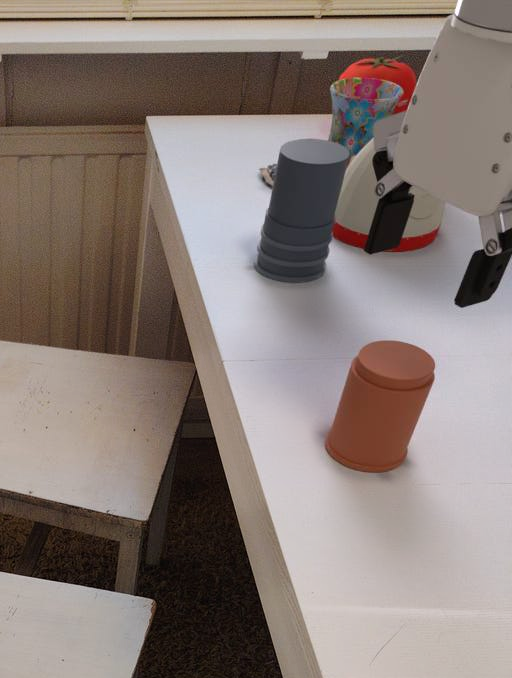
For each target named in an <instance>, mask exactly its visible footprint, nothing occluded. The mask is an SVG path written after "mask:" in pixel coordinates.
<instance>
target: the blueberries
mask: <svg viewBox="0 0 512 678" xmlns="http://www.w3.org/2000/svg"><path fill="white" fill-rule="evenodd" d="M276 168H277V163H273V164H269V165H267V166H266V167H259V168H258V171H259V173H260V175H261V176H263V179H264V180H265V183H266V184H268V185H270V187H271V188H273V183H274V178H275V173H276Z"/></svg>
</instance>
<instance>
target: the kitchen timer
mask: <svg viewBox="0 0 512 678" xmlns="http://www.w3.org/2000/svg"><path fill="white" fill-rule="evenodd" d="M412 95H413V92H411V94H410V96H409V98H408V101H407V103H406V106H405V108H404V111H406V110H407V109H408V106H409V104H410V101H411V98H412ZM400 112H403V111H402V107H400V106H398V105H395V109H394V114H397V113H400ZM381 119H382V118H381ZM375 153H376V150H375V151H374V138H373V139H371V140H370V141H369V142H368V143H367V144H366V145H365V146H364V147H363V148H362V150H361V151H360V152H359V153H358V154H357V155H356V156H353V157H352V158H351V160H350V163H349V166H348V168H347V169H346V172H345V175H344V179H343V183H342V187H341V191H340V195H339V199H338V203H337V207H336V211H335V217H336V218H335V222H334V226H333V230H332V232H333V238H335V239H337V240H339V241H341V242H343V243H345V244H346V245H351V246H353V247H355V248H360V249H363V250H364V247H365V244H366V241H367V237H368V234H369V231H370V227H371V224H372V221H373V217H374V214H375V211H376V207H377V204H378V201H379V198H377V197H376V196H375V193H374V188H375V185H376V183H377V179H376V175H375V171H374V168H373V163H372V160H373V156H374V154H375ZM409 193H412V194H414V195H415V197H414V203H413V206H412V209H411V212H410V215H409V218H408V221H407V224H406V227H405V230H404V233H403V236H402V239H401V242H400V245H399V246H398V247H397V248H394V249H390V250H386V251H385V252H387V253H388V252H389V253H399V252H400V253H401V252H411V251H414V250H419V249H423V248H425V247H427V246H429V245H430V244H433V242H434V241H435V240H436V238H437V237H438V234H439V231H440V229H441V227H442V226H441V225H442V223H443V219H444V213H445V205H446V202H445V201H442V200H440V199H438V198H436V197H434V196H432V195H430V194H428V193H426V192H424V191H422V190H420V189H418V188H416V187H413V188H412V189H411V190H410V191H409Z"/></svg>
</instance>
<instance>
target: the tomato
mask: <svg viewBox="0 0 512 678" xmlns="http://www.w3.org/2000/svg"><path fill="white" fill-rule="evenodd" d="M403 56H404V54H402V55H399V56H397V57H395V58H392V59H390V58H388V59H386V58H385V57H384V56H380V57H378V58H372V57H369V58H364V59H360V60H358V61H356V62H354V63H352V64H350V65H349V66H348V67H347V68H346V69H345V70H344V71H343V73H342V74H340V76H339V78H338V80H342V79H347V78H375V79H381V80H386V81H390V82H393V83H395V84H397V85H399V86H400V87H401V88H402V89H403V95H402V97H401V98H400V100H399V101H398V103H399V102H401V101H404V100H408V98H409V96H410V94H411V92H413V93H414V90H415V87H416V85H417V75H416V74H415V72H414V70H413V68H412V67H410V66H409V65H408V64H406V63H404V62H398V61H397V60H398V59H399V58H401V57H403ZM398 103H397V104H398ZM405 106H406V104H405V105H402V106H400V107H402V111H404V108H405ZM392 115H394V112H393V114H392Z"/></svg>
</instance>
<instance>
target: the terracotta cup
mask: <svg viewBox="0 0 512 678" xmlns="http://www.w3.org/2000/svg"><path fill="white" fill-rule="evenodd" d="M435 369H436V362H435V360H434V358H433V356H432V355H431V354H430V353H429V352H427V351H426V350H425V349H423V348H421V347H419V346H417V345H415V344H412V343H409V342H405V341H404V342H403V341H400V340H391V339H389V340H388V339H386V340H384V339H383V340H376V341H371V342H369V343H367V344H365V345H363V346H362V347H361V348H360V349H359V351H358V352H357V355H355V357H354V358H353V359H352V360H351V363H350V366H349V369H348V373H347V376H346V379H345V383H344V386H343V389H342V392H341V396H340V399H339V401H338V405H337V408H336V412H335V415H334V419H333V421H332V425H331V428H330V429H329V430H328V432H327V434H326V437H325V440H324V444H325V445H324V446H325V449H326V451H327V453H328V454H329V455H330V457H331V458H332V459H334V460H335V461H336V462H338V463H340V464H341V465H342V466H345V467H348V468H350V469H351V470H352V469H353V470H356V471H360V472H365V473H383V472H388V471H392V470H395V469H397V468H398V467H400V466H401V465H402V464H403V463H404V462H405V460H406V458H407V456H408V451H409V449H408V447H409V444H410V442H411V439H412V437H413V434H414V432H415V429H416V427H417V424H418V422H419V419H420V417H421V415H422V412H423V410H424V407H425V405H426V401H427V399H428V397H429V395H430V392H431V389H432V387H433V384H434V382H435V378H436V377H435V376H436V375H435Z"/></svg>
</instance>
